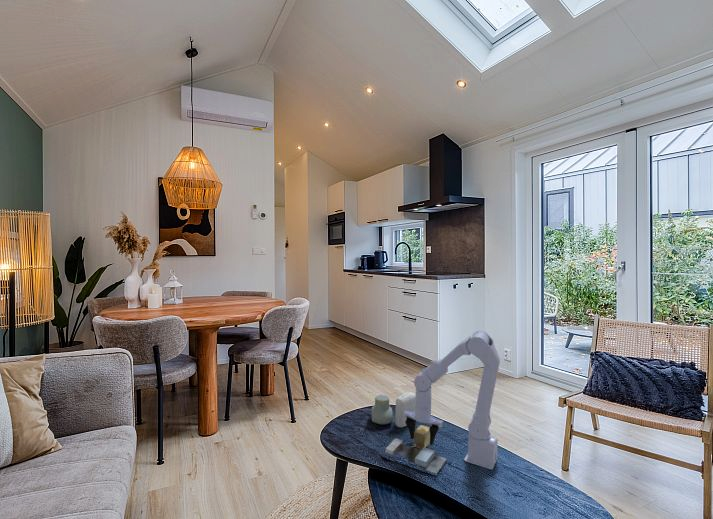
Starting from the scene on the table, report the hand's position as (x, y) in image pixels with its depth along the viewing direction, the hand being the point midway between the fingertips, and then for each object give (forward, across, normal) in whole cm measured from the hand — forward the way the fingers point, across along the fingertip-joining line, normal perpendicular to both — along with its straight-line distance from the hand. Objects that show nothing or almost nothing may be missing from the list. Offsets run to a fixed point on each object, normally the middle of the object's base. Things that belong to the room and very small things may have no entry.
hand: (422, 440), depth 146 cm
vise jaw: (+1, -5, +10) cm, 11 cm away
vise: (+2, -1, +10) cm, 10 cm away
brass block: (+2, 0, 0) cm, 2 cm away
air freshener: (+2, +21, -8) cm, 23 cm away
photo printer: (+2, +12, -12) cm, 17 cm away
